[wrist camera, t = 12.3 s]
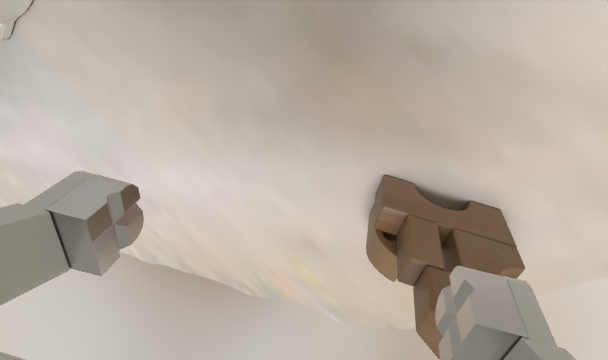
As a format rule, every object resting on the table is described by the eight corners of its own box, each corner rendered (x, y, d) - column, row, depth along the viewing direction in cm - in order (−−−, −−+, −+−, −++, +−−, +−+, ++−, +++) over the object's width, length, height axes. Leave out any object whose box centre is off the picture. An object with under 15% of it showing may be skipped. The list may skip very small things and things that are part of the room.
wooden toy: (366, 216, 44) (342, 443, 23) (384, 173, 40) (374, 398, 19) (486, 254, 43) (573, 525, 22) (516, 213, 39) (654, 495, 18)
